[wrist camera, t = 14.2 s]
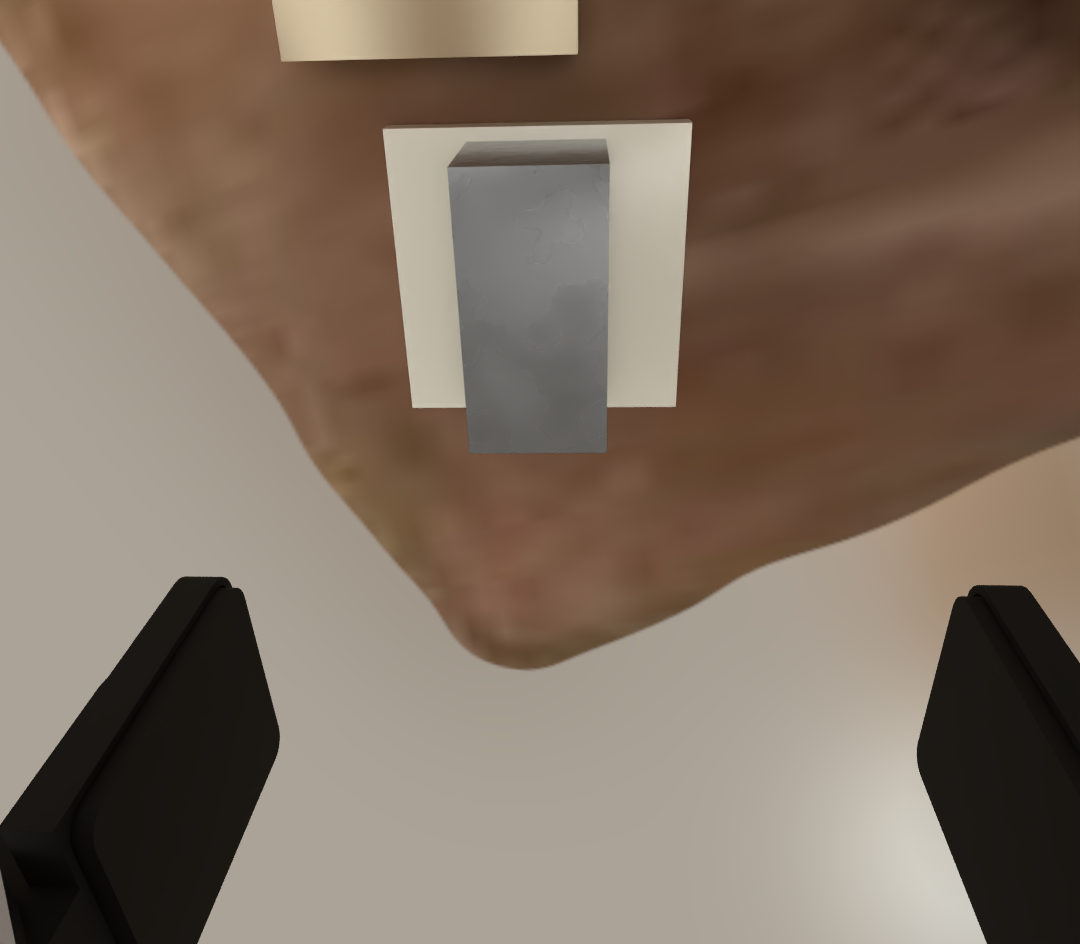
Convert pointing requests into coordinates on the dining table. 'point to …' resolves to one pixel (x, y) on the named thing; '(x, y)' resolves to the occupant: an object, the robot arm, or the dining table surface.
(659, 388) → the tile
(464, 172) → the grey metal block
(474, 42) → the body
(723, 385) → the dining table surface
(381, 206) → the dining table surface
